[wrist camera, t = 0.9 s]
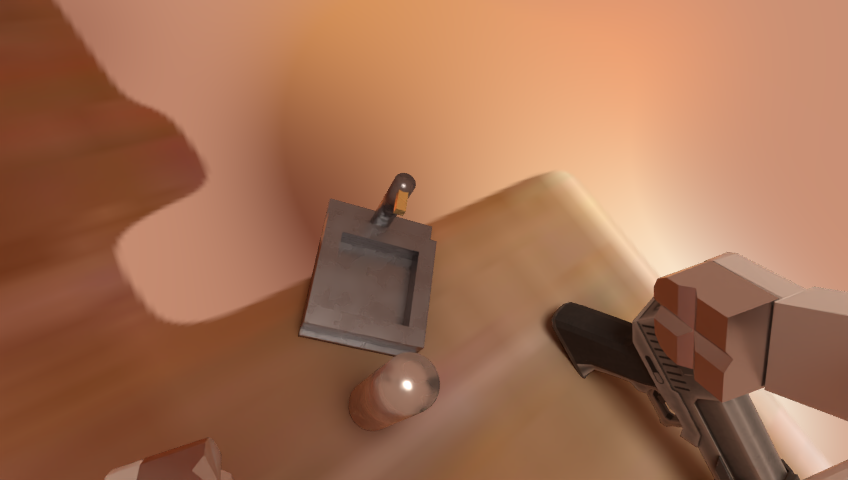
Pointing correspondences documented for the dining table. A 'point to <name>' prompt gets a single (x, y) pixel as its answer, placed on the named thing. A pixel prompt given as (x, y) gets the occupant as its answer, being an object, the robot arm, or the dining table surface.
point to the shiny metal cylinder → (395, 392)
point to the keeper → (372, 276)
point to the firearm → (672, 391)
